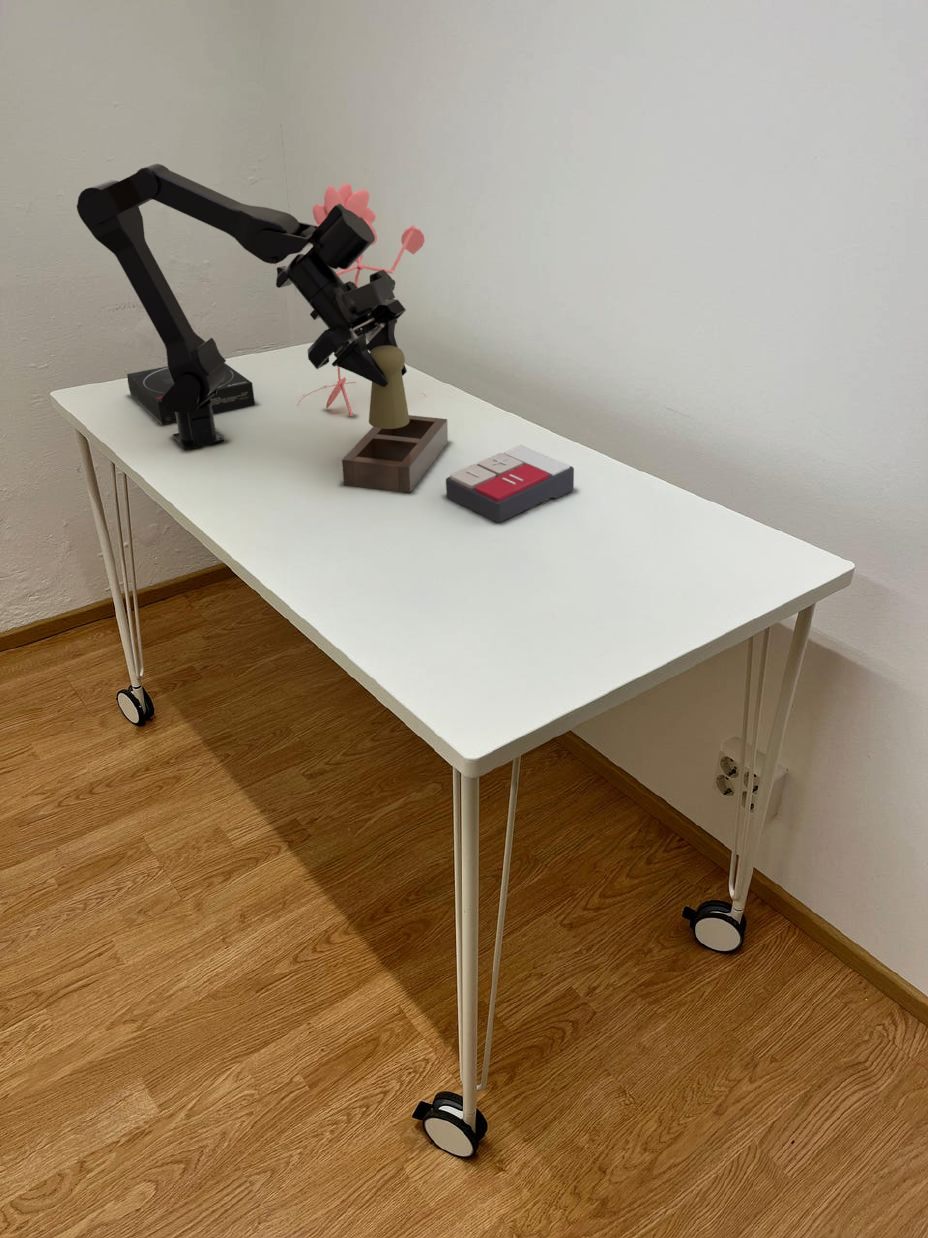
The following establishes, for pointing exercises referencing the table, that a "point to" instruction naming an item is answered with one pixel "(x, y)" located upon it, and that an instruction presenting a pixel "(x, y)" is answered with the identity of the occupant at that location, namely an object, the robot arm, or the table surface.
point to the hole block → (395, 455)
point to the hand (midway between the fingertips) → (395, 379)
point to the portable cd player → (158, 382)
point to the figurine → (358, 205)
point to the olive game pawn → (389, 390)
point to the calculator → (510, 483)
